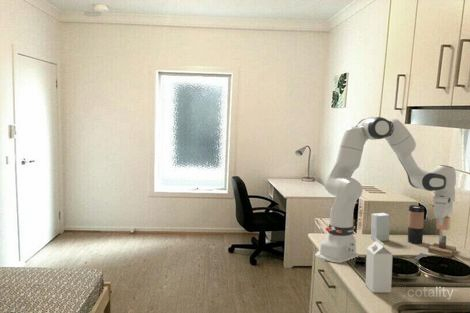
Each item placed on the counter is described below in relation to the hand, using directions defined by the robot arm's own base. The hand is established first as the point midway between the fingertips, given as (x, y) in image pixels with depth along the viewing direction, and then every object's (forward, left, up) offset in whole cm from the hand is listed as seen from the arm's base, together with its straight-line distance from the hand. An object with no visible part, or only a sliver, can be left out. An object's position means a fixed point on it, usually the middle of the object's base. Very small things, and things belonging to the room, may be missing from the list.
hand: (443, 224), depth 184 cm
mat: (-17, +2, -14) cm, 22 cm away
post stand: (0, 0, -14) cm, 14 cm away
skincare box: (-2, +31, -15) cm, 34 cm away
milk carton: (-67, +7, -15) cm, 69 cm away
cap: (0, 0, -2) cm, 2 cm away
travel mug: (+7, +15, -15) cm, 22 cm away
